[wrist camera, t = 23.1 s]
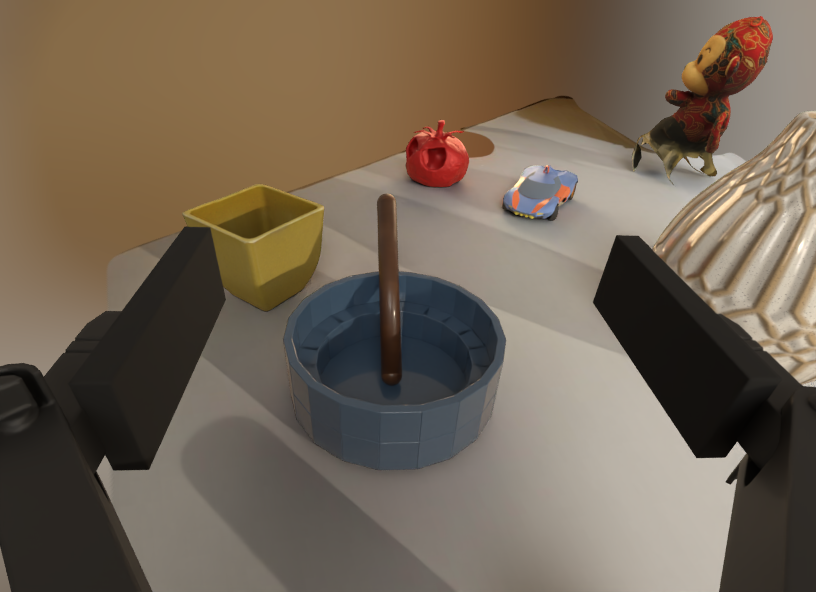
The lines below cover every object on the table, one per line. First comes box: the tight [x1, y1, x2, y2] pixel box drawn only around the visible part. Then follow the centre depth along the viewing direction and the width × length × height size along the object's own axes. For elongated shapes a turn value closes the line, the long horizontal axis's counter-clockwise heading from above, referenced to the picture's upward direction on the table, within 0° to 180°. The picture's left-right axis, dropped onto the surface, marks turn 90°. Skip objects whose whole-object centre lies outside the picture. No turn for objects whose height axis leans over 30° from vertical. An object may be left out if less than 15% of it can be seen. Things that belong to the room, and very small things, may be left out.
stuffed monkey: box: [632, 16, 773, 185], centre depth 72 cm, size 15×17×25 cm
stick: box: [377, 194, 402, 386], centre depth 37 cm, size 2×2×16 cm
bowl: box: [283, 271, 506, 470], centre depth 34 cm, size 15×15×6 cm
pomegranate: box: [406, 120, 469, 187], centre depth 70 cm, size 10×10×9 cm
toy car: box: [503, 165, 578, 220], centre depth 65 cm, size 8×15×5 cm, turn 151°
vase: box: [652, 111, 816, 385], centre depth 35 cm, size 16×16×20 cm
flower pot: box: [182, 184, 324, 311], centre depth 43 cm, size 9×9×9 cm
